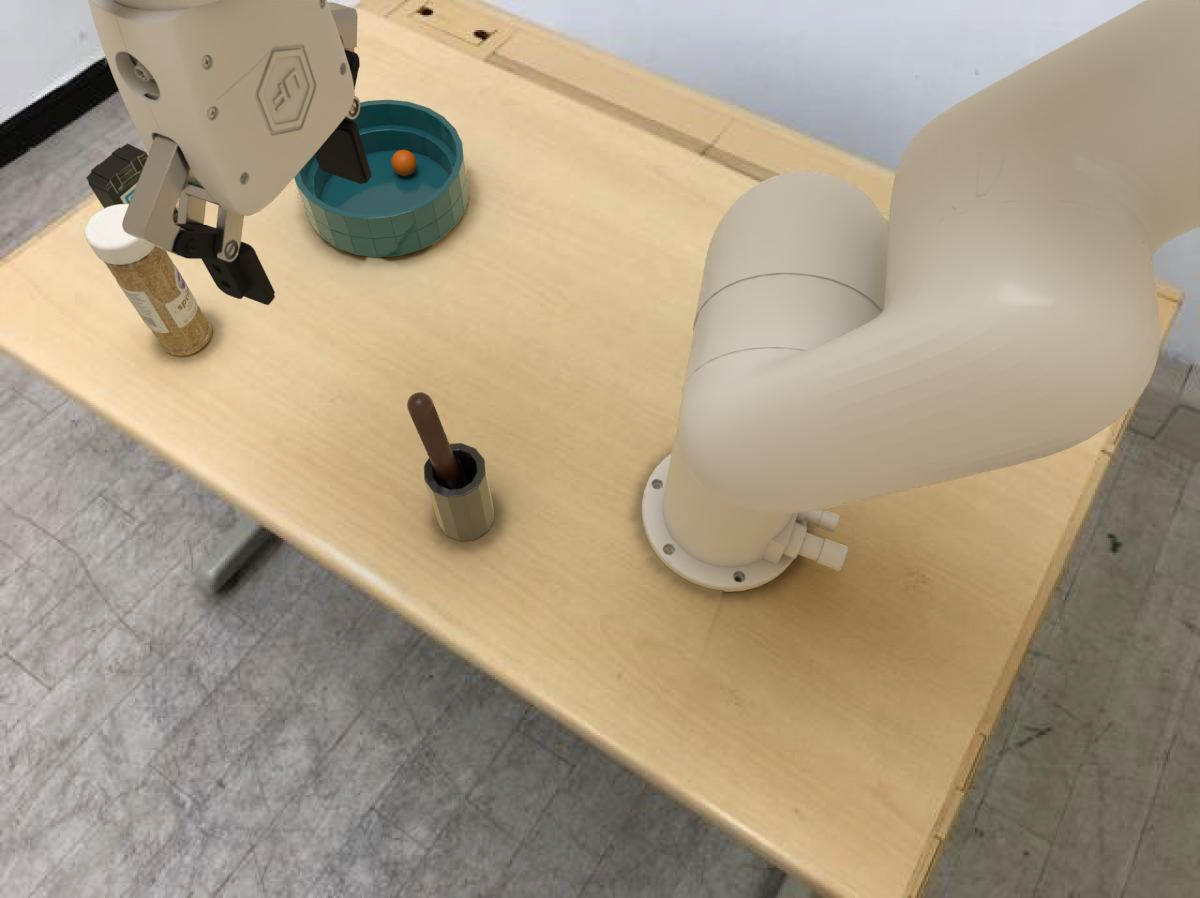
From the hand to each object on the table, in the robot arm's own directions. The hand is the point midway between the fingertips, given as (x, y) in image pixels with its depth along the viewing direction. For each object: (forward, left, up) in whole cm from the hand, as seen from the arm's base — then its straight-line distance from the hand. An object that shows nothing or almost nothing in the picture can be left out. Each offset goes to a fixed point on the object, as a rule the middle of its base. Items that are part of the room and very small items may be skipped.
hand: (300, 231), depth 49 cm
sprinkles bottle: (+21, -3, -25) cm, 33 cm away
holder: (-9, +3, -25) cm, 26 cm away
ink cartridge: (+31, -12, -25) cm, 42 cm away
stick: (-9, +3, -24) cm, 26 cm away
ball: (+13, -28, -23) cm, 38 cm away
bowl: (+13, -24, -25) cm, 37 cm away
